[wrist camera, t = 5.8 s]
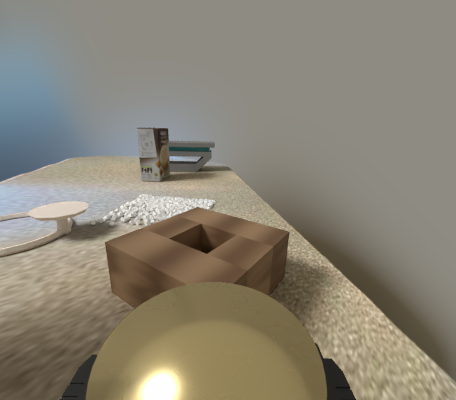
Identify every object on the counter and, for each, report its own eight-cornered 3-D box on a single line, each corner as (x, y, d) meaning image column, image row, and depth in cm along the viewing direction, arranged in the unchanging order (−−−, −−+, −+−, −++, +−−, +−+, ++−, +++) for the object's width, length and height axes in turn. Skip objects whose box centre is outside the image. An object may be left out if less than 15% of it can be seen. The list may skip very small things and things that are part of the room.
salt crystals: (218, 204, 58) (219, 198, 58) (197, 239, 39) (197, 230, 39) (140, 198, 61) (140, 192, 60) (86, 228, 42) (84, 219, 42)
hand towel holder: (-11, 195, 45) (106, 194, 47) (-5, 217, 46) (109, 215, 48) (-129, 234, 28) (58, 230, 31) (-114, 267, 30) (64, 260, 32)
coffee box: (160, 182, 75) (157, 128, 70) (140, 181, 75) (136, 127, 71) (170, 176, 84) (168, 128, 79) (153, 175, 84) (149, 127, 79)
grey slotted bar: (147, 171, 91) (145, 141, 87) (152, 167, 98) (150, 140, 95) (214, 172, 93) (214, 143, 90) (213, 168, 101) (213, 141, 97)
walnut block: (112, 292, 26) (105, 242, 24) (198, 243, 37) (197, 206, 35) (214, 364, 18) (215, 299, 17) (284, 276, 30) (289, 231, 28)
